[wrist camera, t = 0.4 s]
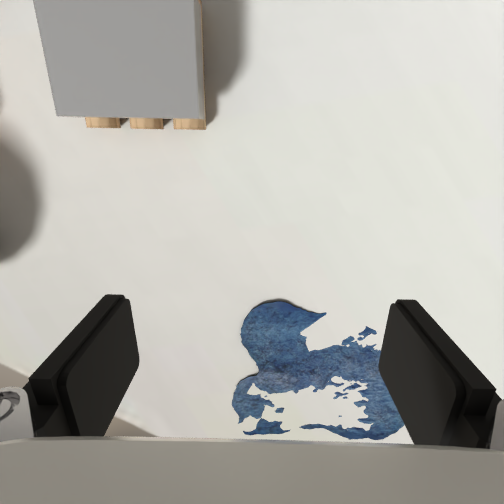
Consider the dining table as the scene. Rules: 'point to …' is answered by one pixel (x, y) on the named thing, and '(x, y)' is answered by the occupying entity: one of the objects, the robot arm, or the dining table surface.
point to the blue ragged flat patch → (309, 371)
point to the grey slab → (123, 57)
